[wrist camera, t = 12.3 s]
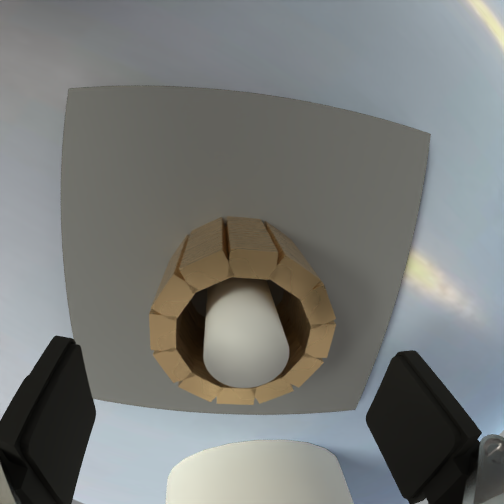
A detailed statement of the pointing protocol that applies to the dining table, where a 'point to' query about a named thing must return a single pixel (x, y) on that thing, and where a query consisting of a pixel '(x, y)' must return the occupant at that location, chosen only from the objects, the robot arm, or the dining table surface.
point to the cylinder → (259, 475)
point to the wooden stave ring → (241, 266)
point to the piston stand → (222, 205)
